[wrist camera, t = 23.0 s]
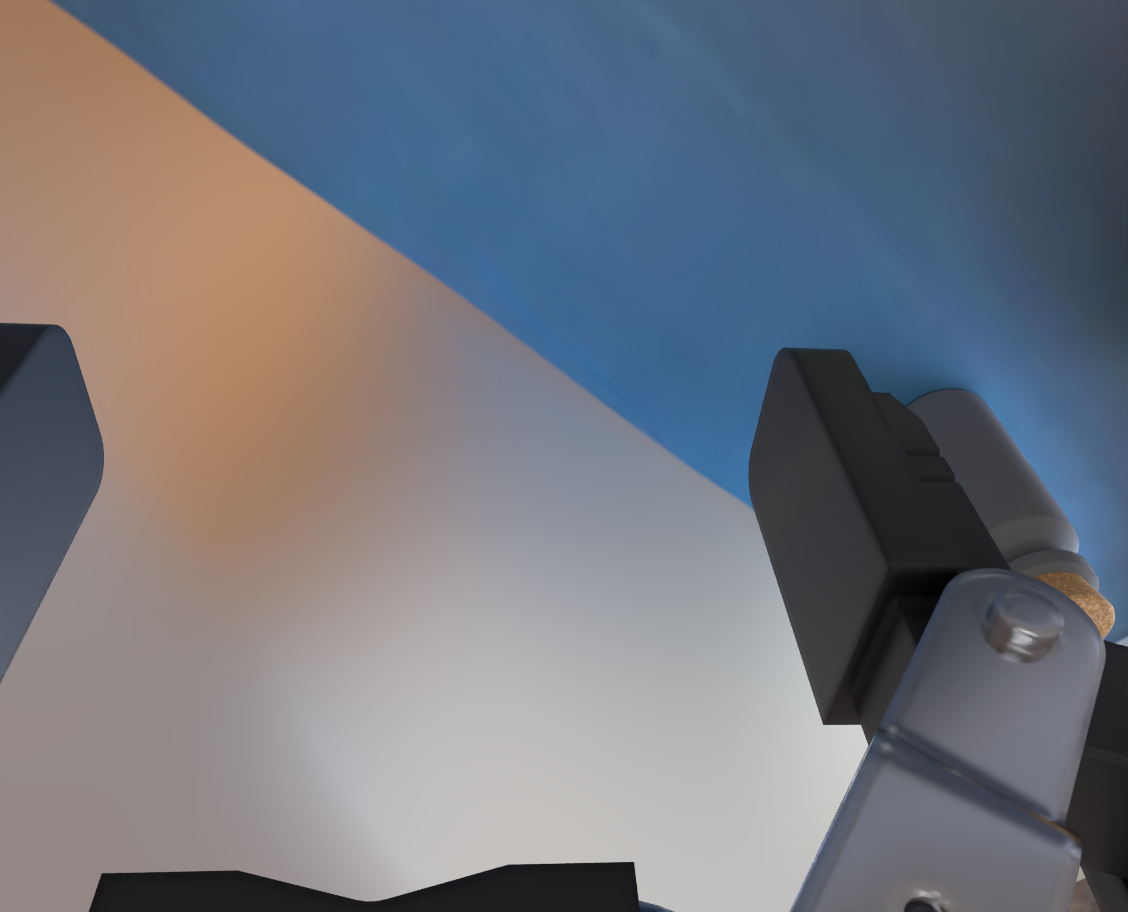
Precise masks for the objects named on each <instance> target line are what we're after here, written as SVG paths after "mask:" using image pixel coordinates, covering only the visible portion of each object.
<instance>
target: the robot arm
mask: <svg viewBox="0 0 1128 912" xmlns="http://www.w3.org/2000/svg"><path fill="white" fill-rule="evenodd" d="M103 466H104V450H103V442H102V437H101V434H100V430H99V427H98V424H97V421H96V418H95V415H94V411H93V408H92V405H91V402H90V398H89V396H88V392H87V389H86V386H85V382H84V379H83V376H82V373H81V370H80V367H79V363H78V360H77V357H76V354H75V351H74V348H73V345H72V342H71V339H70V338H69V336H68V334H67V333H66V331H65V330H64V329H63V328H62V327H60V326H58V325H51V324H48V325H47V324H17V323H0V683H1V681H2V679H3V677H4V675H5V673H6V671H7V669H8V667H9V665H10V663H11V661H12V659H13V657H14V655H15V653H16V651H17V649H18V647H19V645H20V643H21V642H22V640H23V637H24V636H25V634H26V632H27V630H28V628H29V626H30V624H31V622H32V620H33V618H34V616H35V614H36V612H37V610H38V608H39V606H40V604H41V602H42V600H43V598H44V596H45V594H46V592H47V590H48V588H49V586H50V584H51V582H52V580H53V578H54V576H55V575H56V573H57V571H58V568H59V567H60V565H61V563H62V561H63V559H64V557H65V555H66V553H67V551H68V549H69V547H70V545H71V543H72V541H73V539H74V537H75V535H76V533H77V531H78V529H79V527H80V525H81V523H82V521H83V519H84V517H85V515H86V513H87V511H88V509H89V507H90V506H91V504H92V501H93V499H94V498H95V496H96V493H97V491H98V489H99V486H100V483H101V479H102V474H103ZM749 490H750V497H751V501H752V505H753V508H754V511H755V514H756V517H757V520H758V523H759V526H760V529H761V533H762V536H763V539H764V541H765V545H766V548H767V551H768V554H769V557H770V561H771V564H772V567H773V570H774V573H775V576H776V579H777V582H778V585H779V588H780V592H781V595H782V598H783V601H784V604H785V607H786V610H787V613H788V617H789V620H790V623H791V626H792V629H793V632H794V635H795V638H796V641H797V645H798V647H799V651H800V654H801V657H802V660H803V663H804V666H805V669H806V672H807V676H808V679H809V682H810V685H811V688H812V691H813V694H814V697H815V700H816V703H817V707H818V709H819V713H820V716H821V719H822V722H823V725H861V726H862V728H863V731H864V734H865V737H866V740H867V742H868V745H869V746H868V748H867V750H866V752H865V754H864V756H863V759H862V760H861V762H860V765H859V767H858V769H857V771H856V773H855V775H854V777H853V779H852V781H851V783H850V786H849V788H848V790H847V792H846V794H845V796H844V798H843V800H842V802H841V804H840V807H839V809H838V811H837V813H836V815H835V817H834V819H833V821H832V823H831V826H830V828H829V830H828V832H827V834H826V836H825V838H824V840H823V842H822V844H821V847H820V849H819V851H818V853H817V855H816V857H815V859H814V861H813V863H812V865H811V868H810V870H809V872H808V874H807V876H806V878H805V880H804V882H803V885H802V886H801V889H800V891H799V893H798V895H797V897H796V899H795V901H794V903H793V905H792V907H791V909H790V912H1069V910H1070V906H1071V902H1072V897H1073V893H1074V888H1075V884H1076V879H1077V875H1078V871H1079V866H1081V868H1082V870H1083V873H1084V875H1085V877H1086V879H1087V882H1088V884H1089V886H1090V888H1091V891H1092V893H1093V895H1094V897H1095V900H1096V902H1097V904H1098V906H1099V909H1100V911H1101V912H1128V647H1127V646H1123V645H1118V644H1115V643H1112V642H1108V641H1105V640H1103V639H1102V636H1101V634H1100V632H1099V630H1098V628H1097V627H1096V625H1095V623H1094V622H1093V621H1092V619H1091V618H1090V617H1089V616H1088V615H1087V613H1086V612H1085V611H1084V610H1083V609H1082V608H1081V607H1080V606H1079V605H1078V604H1076V603H1075V602H1074V601H1073V600H1072V599H1070V598H1069V597H1068V596H1066V595H1065V594H1064V593H1062V592H1060V591H1059V590H1057V589H1056V588H1054V587H1052V586H1051V585H1049V584H1046V583H1044V582H1042V581H1040V580H1038V579H1036V578H1033V577H1030V576H1028V575H1025V574H1022V573H1018V572H1014V571H1012V570H1011V568H1010V567H1009V565H1008V563H1007V562H1006V560H1005V558H1004V557H1003V555H1002V553H1001V552H1000V550H999V548H998V547H997V545H996V543H995V542H994V540H993V538H992V537H991V535H990V533H989V532H988V530H987V528H986V527H985V525H984V523H983V521H982V520H981V518H980V516H979V515H978V513H977V511H976V510H975V508H974V506H973V505H972V503H971V501H970V500H969V498H968V496H967V495H966V493H965V491H964V490H963V488H962V486H961V485H960V483H956V482H955V475H954V473H953V471H952V470H951V468H950V466H949V465H948V463H947V461H946V460H945V458H944V457H940V449H939V448H938V446H937V444H936V443H935V441H934V439H933V438H932V436H931V434H930V433H929V431H928V429H927V428H926V426H925V424H924V423H923V421H922V420H921V419H920V418H919V417H918V416H916V415H915V414H914V413H913V412H912V411H910V410H909V409H908V408H907V407H905V406H904V405H903V404H902V403H901V402H899V401H898V400H897V399H896V398H895V397H893V396H892V395H891V394H890V393H878V392H872V391H871V389H870V388H869V386H868V384H867V382H866V380H865V378H864V377H863V375H862V373H861V371H860V369H859V368H858V366H857V364H856V362H855V360H854V358H853V357H852V355H851V354H850V353H849V352H848V351H847V350H844V349H809V348H782V349H781V350H780V351H779V352H778V354H777V355H776V357H775V360H774V363H773V366H772V370H771V374H770V378H769V382H768V385H767V389H766V393H765V397H764V401H763V405H762V409H761V413H760V417H759V421H758V425H757V429H756V433H755V437H754V441H753V444H752V448H751V453H750V460H749ZM89 912H673V911H671V910H668V909H666V908H663V907H661V906H658V905H654V904H650V903H646V902H642V901H639V900H638V893H637V883H636V875H635V867H634V862H614V863H613V862H612V863H565V864H522V865H521V864H520V865H506V866H502V867H498V868H495V869H491V870H488V871H484V872H481V873H477V874H474V875H470V876H467V877H463V878H460V879H456V880H453V881H449V882H446V883H442V884H438V885H435V886H431V887H428V888H424V889H421V890H417V891H414V892H411V893H407V894H403V895H400V896H396V897H393V898H389V899H385V900H380V901H370V902H366V901H359V900H354V899H350V898H346V897H342V896H338V895H334V894H330V893H326V892H322V891H318V890H314V889H310V888H306V887H302V886H298V885H293V884H289V883H286V882H282V881H277V880H274V879H270V878H266V877H261V876H258V875H254V874H249V873H245V872H241V871H194V872H148V873H102V874H101V877H100V880H99V883H98V886H97V889H96V893H95V895H94V898H93V901H92V904H91V907H90V910H89Z"/></svg>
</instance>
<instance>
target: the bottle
mask: <svg viewBox="0 0 1128 912" xmlns="http://www.w3.org/2000/svg"><path fill="white" fill-rule="evenodd" d="M907 408H908V409H909V410H910V411H912V412H913V413H914V414H915V415H916V416H918V417H919V418H920V419H921V420H922V421H923V423H924V424H925V426H926V428H927V429H928V431H929V433H930V434H931V436H932V438H933V439H934V441H935V443H936V444H937V446H938V448H939V449H940V457H944V458H945V460H946V461H947V463H948V465H949V466H950V468H951V470H952V471H953V473H954V475H955V482H956V483H960V485H961V486H962V488H963V490H964V491H965V493H966V495H967V496H968V498H969V500H970V501H971V503H972V505H973V506H974V508H975V510H976V511H977V513H978V515H979V516H980V518H981V520H982V521H983V523H984V525H985V527H986V528H987V530H988V532H989V533H990V535H991V537H992V538H993V540H994V542H995V543H996V545H997V547H998V548H999V550H1000V552H1001V553H1002V555H1003V557H1004V558H1005V560H1006V562H1007V563H1008V565H1009V567H1010V568H1011V570H1012V571H1014V572H1018V573H1022V574H1025V575H1028V576H1030V577H1033V578H1036V579H1038V580H1040V581H1042V582H1044V583H1046V584H1049V585H1051V586H1052V587H1054V588H1056V589H1057V590H1059V591H1060V592H1062V593H1064V594H1065V595H1066V596H1068V597H1069V598H1070V599H1072V600H1073V601H1074V602H1075V603H1076V604H1078V605H1079V606H1080V607H1081V608H1082V609H1083V610H1084V611H1085V612H1086V613H1087V615H1088V616H1089V617H1090V618H1091V619H1092V621H1093V622H1094V623H1095V625H1096V627H1097V628H1098V630H1099V632H1100V634H1101V636H1102V639H1104V638H1105V636H1106V635H1107V634H1108V633H1109V631H1110V630H1111V628H1112V626H1113V624H1114V621H1115V611H1114V608H1113V607H1112V605H1111V604H1110V603H1109V601H1108V600H1106V599H1105V598H1104V597H1103V596H1102V595H1101V594H1100V593H1099V592H1098V589H1099V581H1098V577H1097V575H1096V573H1095V572H1094V570H1093V569H1092V567H1091V566H1090V564H1089V563H1088V562H1087V561H1086V560H1085V559H1084V558H1083V557H1082V556H1080V555H1079V554H1077V552H1078V547H1079V540H1078V535H1077V533H1076V531H1075V529H1074V527H1073V526H1072V524H1071V523H1070V521H1069V520H1068V518H1067V517H1066V516H1065V514H1064V513H1063V511H1062V510H1061V508H1060V507H1059V505H1058V504H1057V502H1056V501H1055V500H1054V498H1053V497H1052V495H1051V494H1050V492H1049V491H1048V489H1047V488H1046V487H1045V485H1044V484H1043V482H1042V481H1041V479H1040V478H1039V476H1038V475H1037V474H1036V472H1035V471H1034V469H1033V468H1032V467H1031V465H1030V464H1029V462H1028V461H1027V460H1026V458H1025V457H1024V455H1023V454H1022V453H1021V451H1020V450H1019V448H1018V447H1017V445H1016V444H1015V443H1014V441H1013V440H1012V438H1011V437H1010V436H1009V434H1008V433H1007V431H1006V430H1005V429H1004V427H1003V426H1002V424H1001V423H1000V422H999V420H998V419H997V417H996V416H995V415H994V413H993V412H992V411H991V409H990V408H989V407H988V406H987V404H986V403H985V402H984V400H982V399H981V398H980V397H979V396H978V395H976V394H974V393H972V392H969V391H965V390H960V389H946V390H940V391H936V392H932V393H929V394H927V395H925V396H923V397H921V398H918V399H916V400H915V401H913V402H912V403H911V404H909V405H908V406H907Z"/></svg>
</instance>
